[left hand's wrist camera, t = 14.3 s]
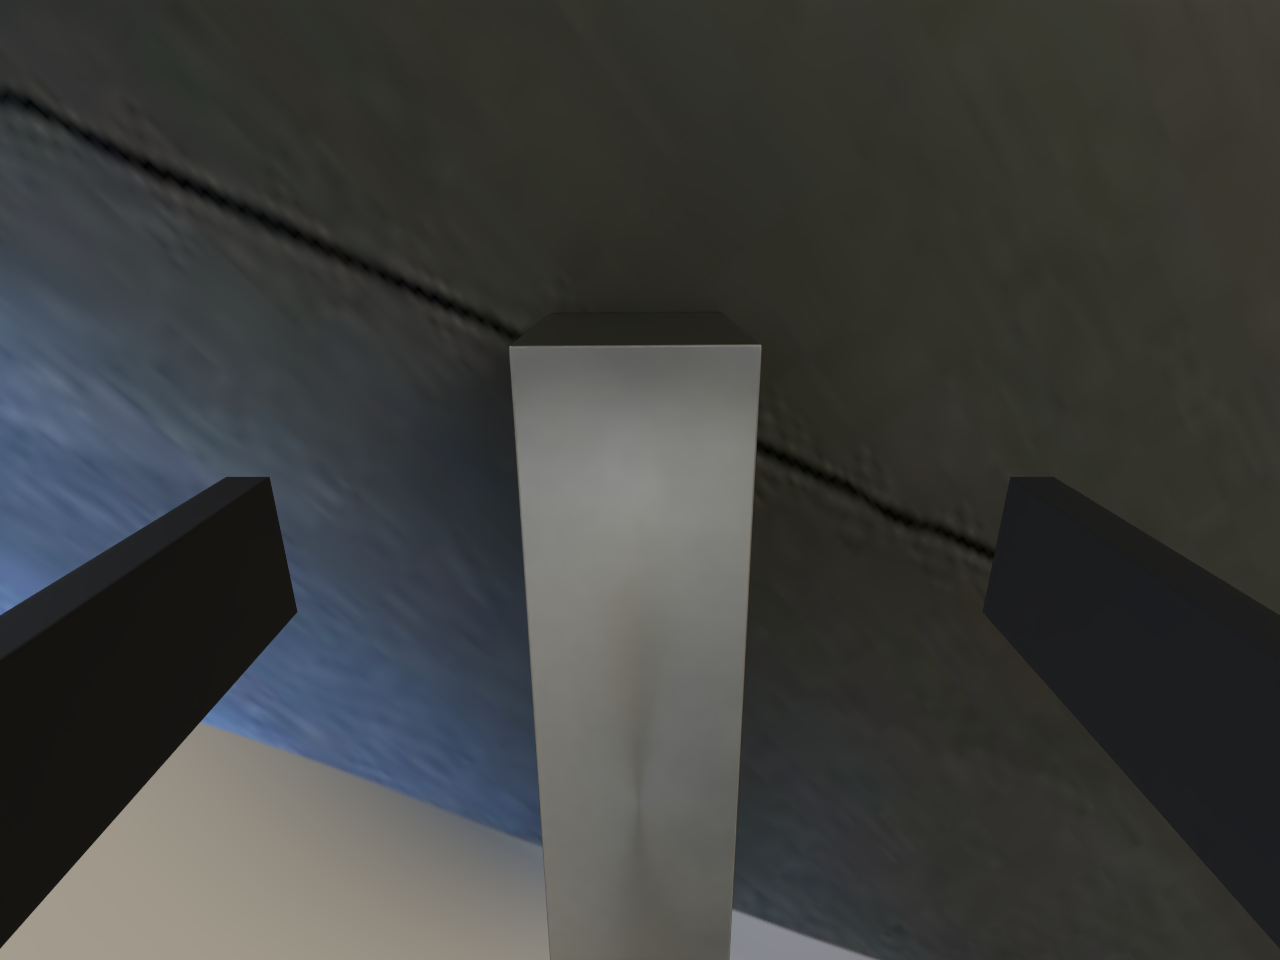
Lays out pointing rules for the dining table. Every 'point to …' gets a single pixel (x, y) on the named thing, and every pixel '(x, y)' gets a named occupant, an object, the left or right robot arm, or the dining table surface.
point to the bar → (637, 620)
